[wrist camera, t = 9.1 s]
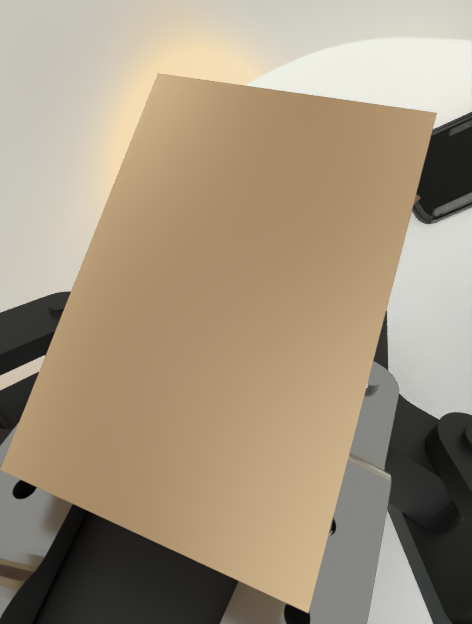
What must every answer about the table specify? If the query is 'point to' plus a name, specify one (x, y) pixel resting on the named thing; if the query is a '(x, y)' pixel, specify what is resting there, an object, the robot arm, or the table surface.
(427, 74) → the table surface
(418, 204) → the phone
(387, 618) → the table surface
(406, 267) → the table surface
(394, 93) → the table surface
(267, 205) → the tall wooden block
